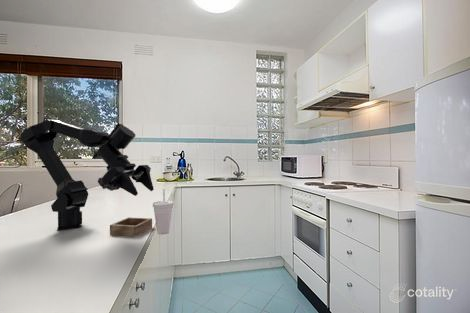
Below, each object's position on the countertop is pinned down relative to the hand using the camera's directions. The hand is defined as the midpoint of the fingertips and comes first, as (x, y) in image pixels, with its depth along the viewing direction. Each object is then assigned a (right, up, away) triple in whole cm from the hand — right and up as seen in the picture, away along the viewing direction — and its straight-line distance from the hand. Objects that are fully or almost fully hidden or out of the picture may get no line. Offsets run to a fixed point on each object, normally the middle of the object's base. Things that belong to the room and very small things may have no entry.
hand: (145, 192), depth 76 cm
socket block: (-5, -13, +1) cm, 14 cm away
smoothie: (+6, -13, -1) cm, 14 cm away
